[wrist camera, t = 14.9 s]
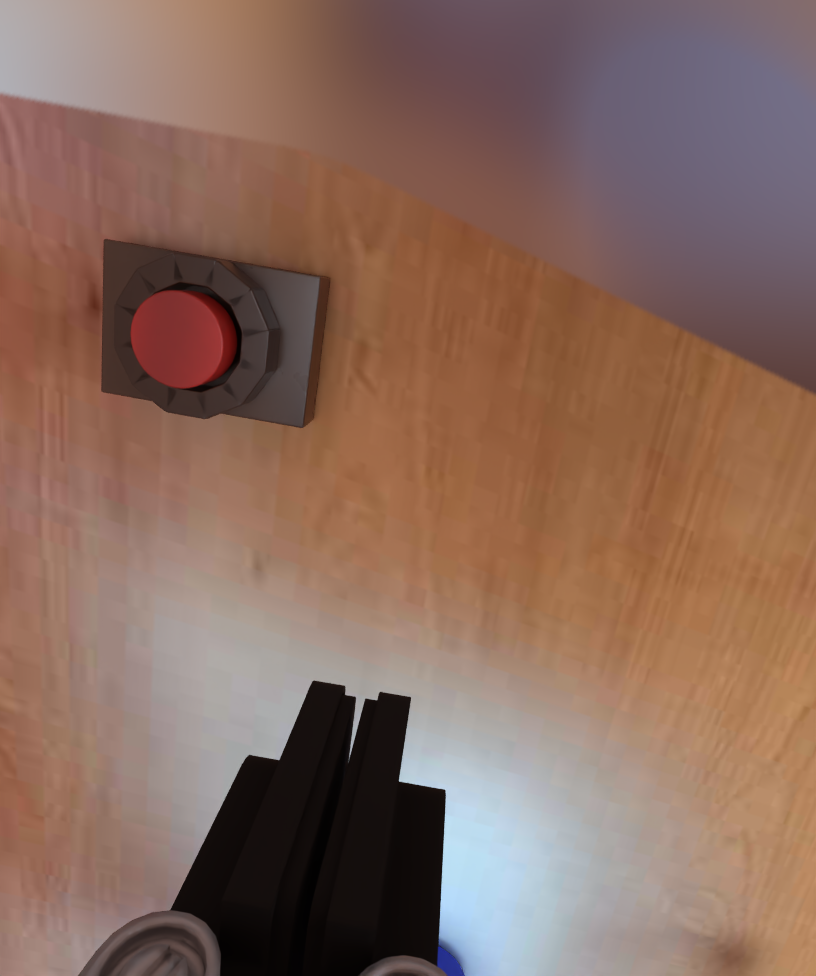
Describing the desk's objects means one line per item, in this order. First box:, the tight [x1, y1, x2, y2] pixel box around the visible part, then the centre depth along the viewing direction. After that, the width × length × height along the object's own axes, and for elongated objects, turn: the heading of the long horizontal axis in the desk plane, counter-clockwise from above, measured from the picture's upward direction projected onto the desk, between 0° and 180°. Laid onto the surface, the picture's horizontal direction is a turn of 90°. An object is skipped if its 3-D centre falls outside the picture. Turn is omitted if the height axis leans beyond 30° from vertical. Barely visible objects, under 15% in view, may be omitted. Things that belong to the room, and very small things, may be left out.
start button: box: [131, 290, 237, 389], centre depth 27 cm, size 4×4×2 cm
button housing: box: [101, 239, 330, 428], centre depth 29 cm, size 10×7×4 cm
